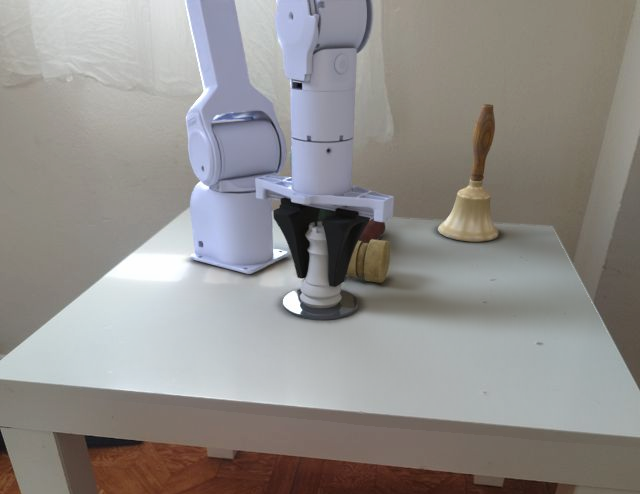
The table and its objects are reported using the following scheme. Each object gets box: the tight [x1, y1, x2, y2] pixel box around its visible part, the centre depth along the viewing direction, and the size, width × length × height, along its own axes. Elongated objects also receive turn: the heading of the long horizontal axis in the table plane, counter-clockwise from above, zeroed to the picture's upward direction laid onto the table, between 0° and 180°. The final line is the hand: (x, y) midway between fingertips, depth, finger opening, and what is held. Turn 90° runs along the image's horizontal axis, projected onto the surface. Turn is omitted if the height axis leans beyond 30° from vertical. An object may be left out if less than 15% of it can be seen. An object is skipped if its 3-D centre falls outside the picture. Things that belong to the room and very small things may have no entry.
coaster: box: [282, 288, 359, 321], centre depth 65 cm, size 8×8×1 cm
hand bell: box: [437, 103, 499, 243], centre depth 81 cm, size 8×8×16 cm
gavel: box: [346, 218, 391, 284], centre depth 77 cm, size 21×5×10 cm
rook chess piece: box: [299, 221, 342, 308], centre depth 63 cm, size 4×4×8 cm
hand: (320, 279), depth 64 cm, fingers closed on rook chess piece, 3 cm apart
